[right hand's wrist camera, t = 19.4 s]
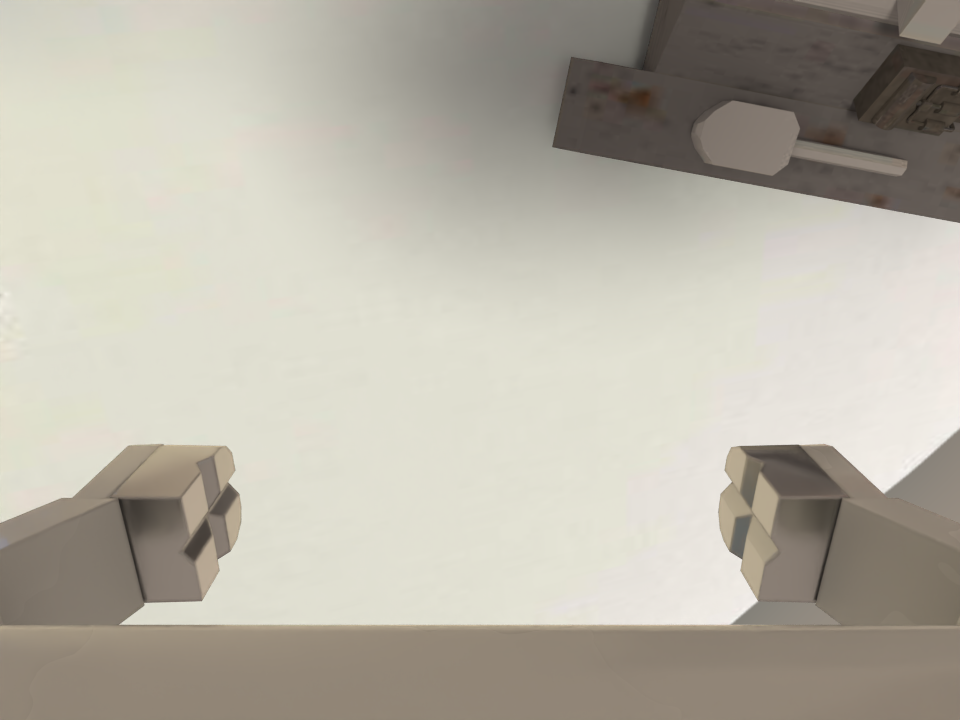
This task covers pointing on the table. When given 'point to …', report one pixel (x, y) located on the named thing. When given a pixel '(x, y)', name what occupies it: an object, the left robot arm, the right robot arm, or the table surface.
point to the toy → (787, 99)
